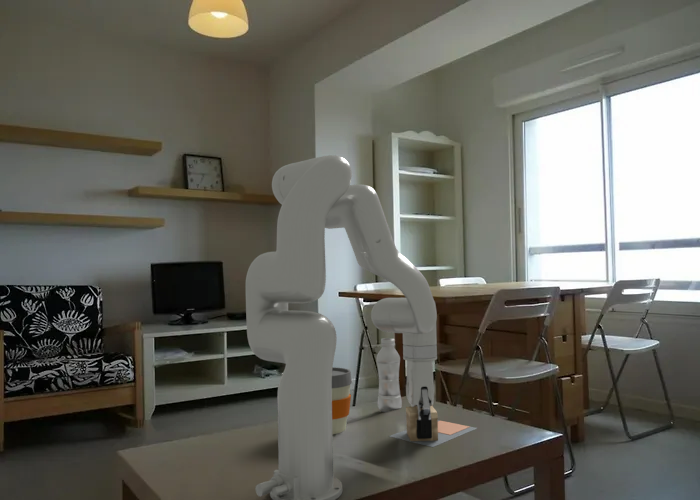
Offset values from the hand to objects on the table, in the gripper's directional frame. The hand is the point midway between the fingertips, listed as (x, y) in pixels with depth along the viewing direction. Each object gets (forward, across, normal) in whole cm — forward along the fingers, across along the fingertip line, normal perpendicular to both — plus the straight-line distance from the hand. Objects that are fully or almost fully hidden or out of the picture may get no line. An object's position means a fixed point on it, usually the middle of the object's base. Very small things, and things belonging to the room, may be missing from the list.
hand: (422, 432), depth 121 cm
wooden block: (+1, 0, 0) cm, 1 cm away
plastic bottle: (+2, -28, -4) cm, 28 cm away
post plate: (+2, -3, +3) cm, 5 cm away
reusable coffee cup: (+3, -8, -22) cm, 23 cm away
